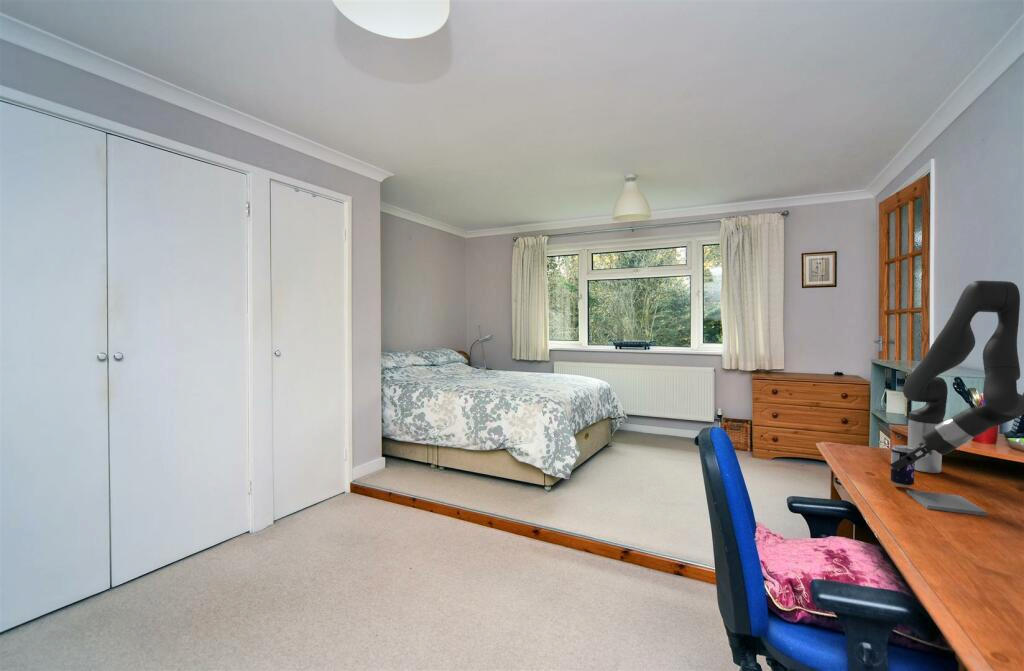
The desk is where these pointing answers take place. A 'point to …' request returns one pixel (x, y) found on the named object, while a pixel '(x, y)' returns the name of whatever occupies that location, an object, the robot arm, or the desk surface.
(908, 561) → the desk surface
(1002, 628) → the desk surface
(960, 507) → the slate tile
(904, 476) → the beverage can
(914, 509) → the desk surface
